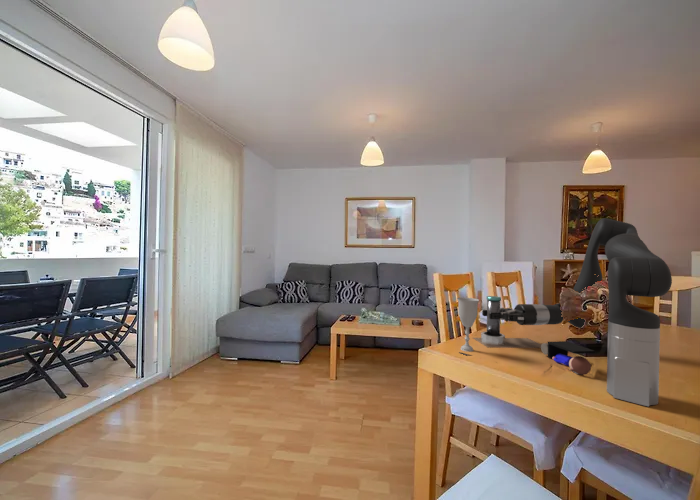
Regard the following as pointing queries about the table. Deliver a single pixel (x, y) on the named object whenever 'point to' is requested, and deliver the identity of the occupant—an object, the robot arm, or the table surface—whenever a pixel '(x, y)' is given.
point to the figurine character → (560, 353)
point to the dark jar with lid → (493, 307)
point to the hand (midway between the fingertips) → (486, 314)
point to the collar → (493, 339)
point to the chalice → (467, 318)
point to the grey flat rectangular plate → (514, 343)
